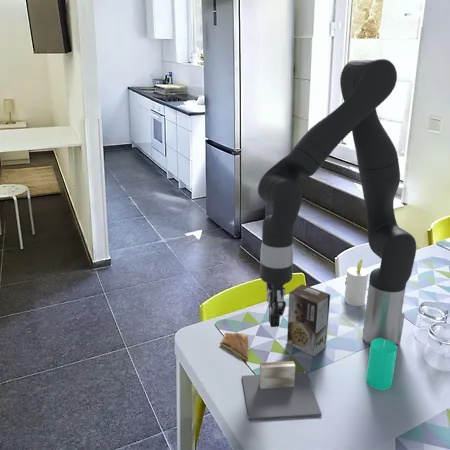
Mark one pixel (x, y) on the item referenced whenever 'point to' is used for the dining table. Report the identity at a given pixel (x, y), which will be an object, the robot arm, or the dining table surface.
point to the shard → (236, 344)
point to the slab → (277, 374)
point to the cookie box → (308, 319)
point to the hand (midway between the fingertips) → (274, 324)
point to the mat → (280, 399)
